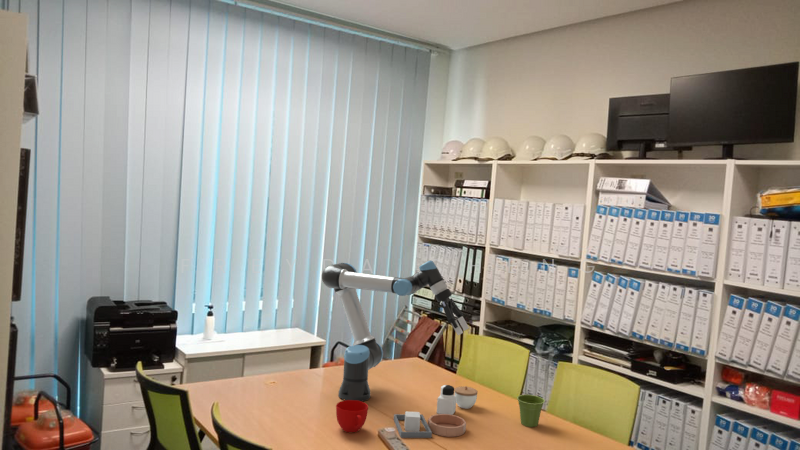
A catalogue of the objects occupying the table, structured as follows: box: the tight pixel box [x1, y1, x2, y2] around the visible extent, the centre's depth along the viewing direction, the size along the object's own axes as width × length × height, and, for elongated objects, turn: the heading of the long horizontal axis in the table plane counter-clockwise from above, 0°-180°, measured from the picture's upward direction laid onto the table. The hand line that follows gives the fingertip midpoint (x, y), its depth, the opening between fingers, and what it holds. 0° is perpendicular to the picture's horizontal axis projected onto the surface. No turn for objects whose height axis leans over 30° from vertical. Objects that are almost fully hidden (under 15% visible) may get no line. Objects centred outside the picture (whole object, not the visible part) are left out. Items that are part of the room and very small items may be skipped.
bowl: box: [427, 413, 467, 438], centre depth 243 cm, size 15×15×4 cm
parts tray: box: [393, 413, 433, 439], centre depth 243 cm, size 13×20×2 cm, turn 9°
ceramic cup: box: [335, 400, 369, 433], centre depth 235 cm, size 13×17×10 cm
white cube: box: [403, 410, 421, 432], centre depth 243 cm, size 6×6×6 cm
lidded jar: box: [454, 386, 478, 410], centre depth 273 cm, size 11×11×9 cm
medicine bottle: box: [436, 384, 457, 415], centre depth 264 cm, size 7×7×12 cm
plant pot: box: [516, 394, 546, 428], centre depth 255 cm, size 12×12×11 cm
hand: (463, 331), depth 271 cm, fingers open, 13 cm apart
